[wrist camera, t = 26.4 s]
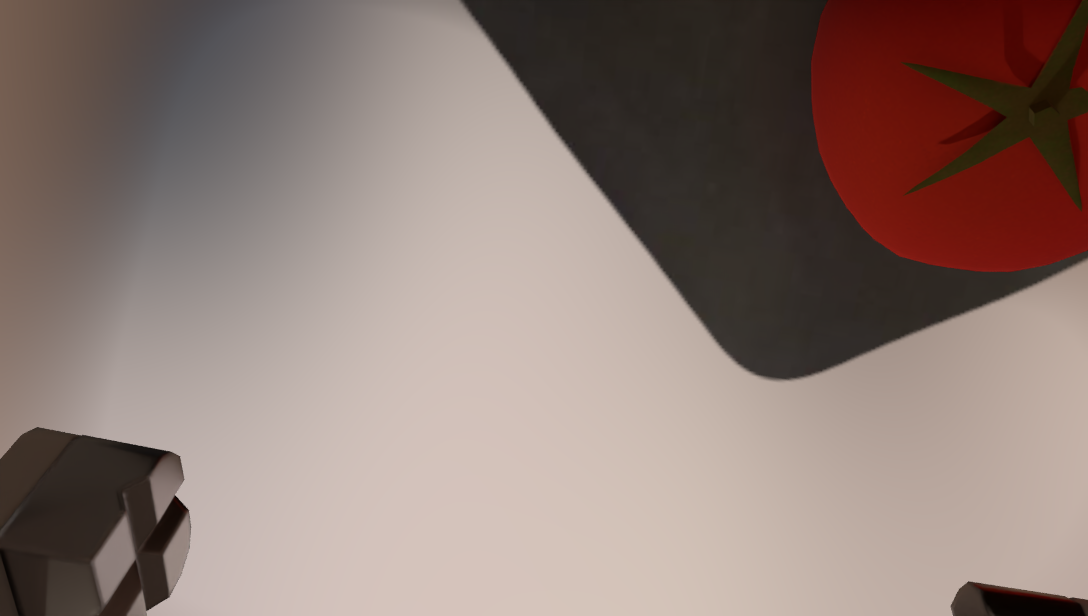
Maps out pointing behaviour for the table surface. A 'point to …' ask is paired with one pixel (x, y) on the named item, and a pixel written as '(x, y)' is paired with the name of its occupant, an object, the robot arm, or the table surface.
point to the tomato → (958, 126)
